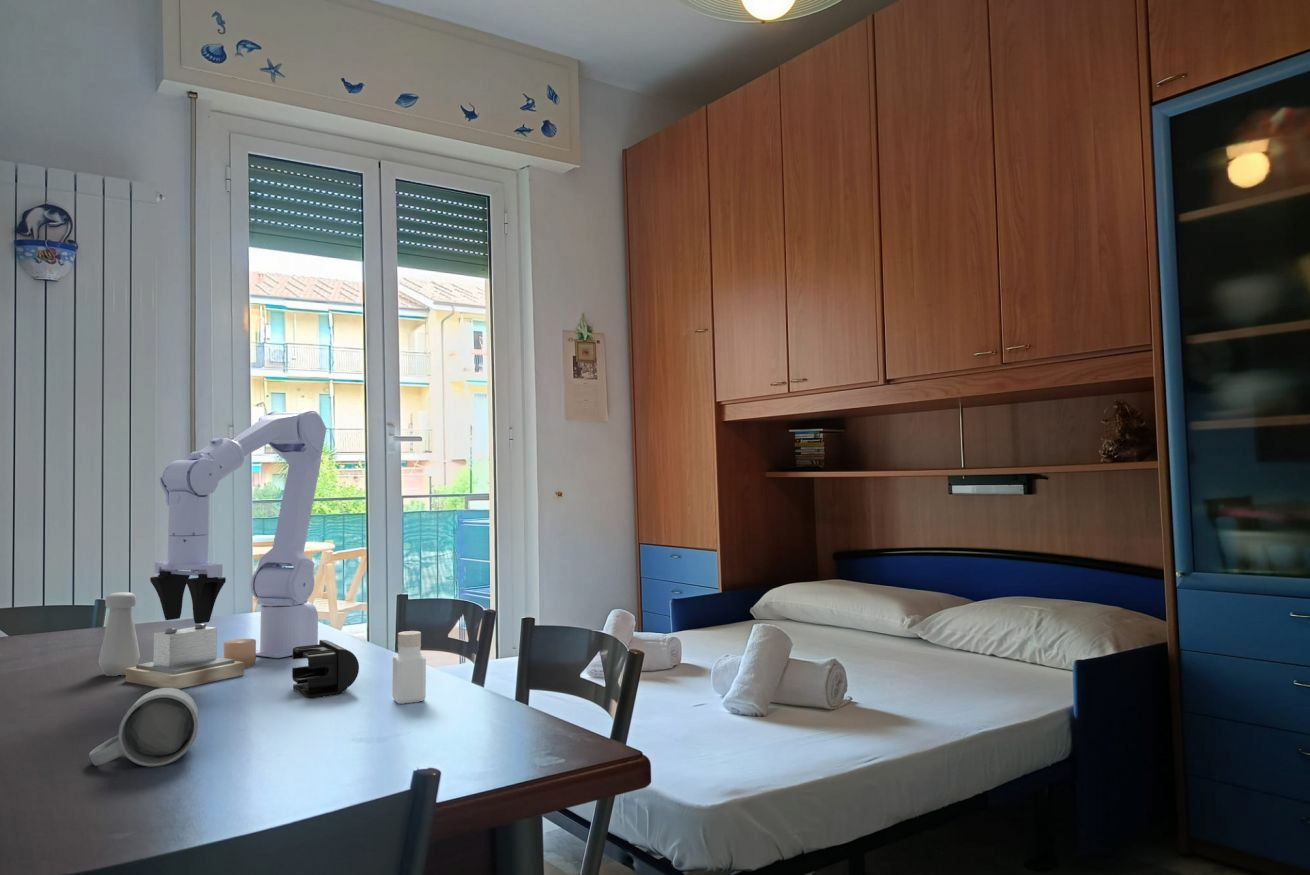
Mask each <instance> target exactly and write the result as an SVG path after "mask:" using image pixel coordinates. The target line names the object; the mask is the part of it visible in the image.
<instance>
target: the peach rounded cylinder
mask: <svg viewBox="0 0 1310 875" xmlns="http://www.w3.org/2000/svg"><path fill="white" fill-rule="evenodd" d="M256 650H257V639H253V638H236V639H230V640H226V641H223V656H222V658H227V659H234V660H235V661H239V662H244V668H246V667H252V666H255V665H256V663H257V659H256V657H257V655H256Z"/></svg>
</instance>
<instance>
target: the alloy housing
mask: <svg viewBox="0 0 1310 875" xmlns="http://www.w3.org/2000/svg"><path fill="white" fill-rule="evenodd" d="M194 624H195V623H194ZM217 648H218V627H213V626H207V623H200V624H195V626H193V627H185V628H180V629H178V628H176V627H169V628H165V630H164V631H160V632H154V633H153V659H152V660H153V661H152V662H153V666H159V667H165V668H172V667H178V666H183V665H188V664H193V663H198V662H204V661H209V660H214V659H217V657H218V656H217V653H218V652H217V650H218V649H217Z"/></svg>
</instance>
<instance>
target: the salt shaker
mask: <svg viewBox="0 0 1310 875" xmlns="http://www.w3.org/2000/svg"><path fill="white" fill-rule="evenodd" d="M136 603H137V597H136V594H135V593H133V592H128V591H124V592H121V591H120V592H113V593H109V594H108V595H107V596H106V597H105V603H104V604H105V605H104V606H105V607H106V609H109V613H108V617H107V623H106V626H105V632H104V635H103V640H102V644H101V648H100V652H99V656H98V661H97V662H98V664H99V667H100V668H101V670H102V671H103V673H104V675H105V677H119V676H118V675H121V676H126V669H127V668H132V667H136V665H138V663H139V661H140V657H141V654H140V650H139V643H138V637H137V631H136V626H135V621H134V614H133V607H135V605H136Z"/></svg>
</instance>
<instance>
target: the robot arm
mask: <svg viewBox="0 0 1310 875" xmlns="http://www.w3.org/2000/svg"><path fill="white" fill-rule="evenodd" d="M326 435H327V426H326V425H325V422H324V421H323V418H322V416H321V415H320V413H318V412H317V411H316V410H313V409H309V410H303V411H302V410H301V411H298V410H297V411H282V412H281V411H270V412H268V413H266V414H265V415H261V416H260V417H259V418H258V421H257V422H255V423H254V424H252V425H251V426H249V427H248V428H247V429H245V430H244V431H242V432H241V433H239V434H238V435H237V436H235V437H234V438H233V439H230V438H226V437H223V438H222V437H214V438H212V439H210V440H209V443H210V444H209V445H207V446H206V447H204V448H202V449H200V450H199V451H192V452H191V453H189V456H188V457H187V458H186V459H185V460H184V459H181V460H179V459H178V460H174V461H172V462H170V463H169V464H168V465H167V466H166V467H164V470H163V472H162V476H161V477H159V484H160V487H161V489H162V491H163V492H164V494H165V503H166V504H167V506H168V525H167V526H168V528H167V530H168V532H167V538H168V539H167V540H168V541H167V560H159V561H157V560H156V561H155V562H154V574H158V575H157V576H151V577H150V578H149V580H150V583H151V585H152V586H153V587H154V589H155V591H156V593H157V595H158V598H159V603H160V604H161V609H162V613H163V616H164V620H165V621H171V620H172V621H173V620H178V619H180V618H181V615H182V609H183V601H184V594H185V589H186V587H188V590H189V593H190V597H191V603H192V614H193V616H192V617H193V621H194V624H207V623H210V621H211V617H212V614H213V610H214V607H215V603H216V600H217V598H218V596H219V594H220V591H221V590H222V589H223V586H224V585H225V583H226V581H227V580H226V579H227V577H224V576H223V564H222V563H216V562H212V561H209V534H210V532H209V528H210V527H209V526H210V525H209V524H210V520H209V519H210V518H209V516H210V515H209V514H210V494H213V493H214V492H215V491H216V489H217V487H218V485H219V482H220V481H221V480H223V479H224V478H225V477H227V476H229V475H230V474H232V473H233V472H235V471H237V470H238V469H240V468H241V467H242V466H243V464H244V462H245V457H246V456H248V455H250V454H251V453H253V452H255V451H257V450H259V449H260V448H263V447H264V446H267V445H268V446H269V447H270V448H271V449H272V450H274V452H275V453H276V454H277V455H278V456H279V457H280V458H281V459H283V460H285V462H286V463H287V465H288V467H287V468H288V469H287V474H286V479H285V484H284V489H283V494H282V499H281V503H280V504H281V505H280V509H279V514H278V518H277V522H276V524H277V525H276V528H275V533H274V534H275V535H274V539H273V544H272V547H271V549H269V551H267V552H266V553H265V554H263V555H262V556H261V557H260V558H259V561H258V564H257V567H256V569H255V571H254V572H253V574H252V576H251V579H250V580H251V581H250V592H251V594H252V596H253V597H254V599H256V600H257V605H260V636H259V637H260V638H259V640H260V641H259V645H260V646H259V649H258V650H257V649H256V656H259V657H267V658H273V659H281V658H286V657H290V656H293V648H295V647H299V646H308V645H318V644H319V640H318V639H319V638H318V636H319V614H318V611H317V608H316V606H315V605H314V604H313V602H311V601H309V599H310V597H311V596H312V593H313V592H314V588H315V577H314V569H315V562H314V560H312V559H311V558H310V557H309V556H308V554H306V553H305V546H306V543H307V536H308V533H309V532H308V531H309V528H310V527H309V526H310V521H311V517H312V510H313V507H314V506H313V505H314V501H315V500H314V499H315V496H316V495H315V494H316V489H317V484H318V479H319V473H320V468H321V465H322V454H323V449H324V444H325V439H326ZM190 576H193V577H191V578H190ZM194 576H196V577H194ZM197 576H198V577H197Z"/></svg>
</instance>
